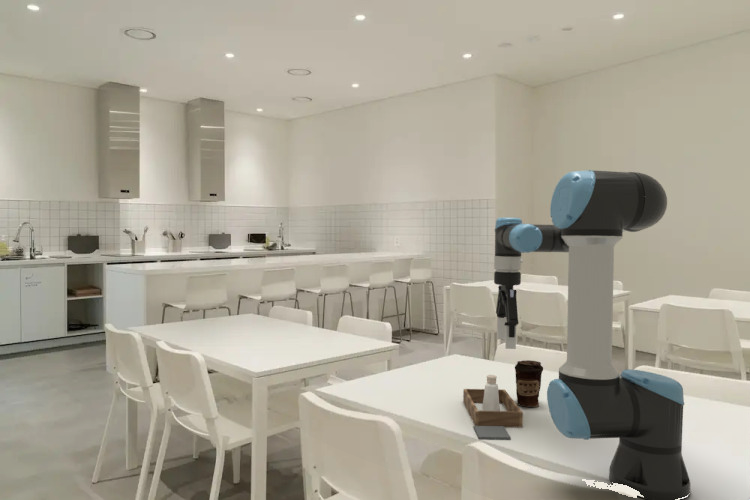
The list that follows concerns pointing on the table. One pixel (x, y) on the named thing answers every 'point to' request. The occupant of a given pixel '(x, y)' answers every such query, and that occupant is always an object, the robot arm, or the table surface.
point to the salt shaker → (491, 395)
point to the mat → (492, 432)
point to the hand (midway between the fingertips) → (505, 343)
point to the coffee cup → (528, 382)
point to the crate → (493, 417)
